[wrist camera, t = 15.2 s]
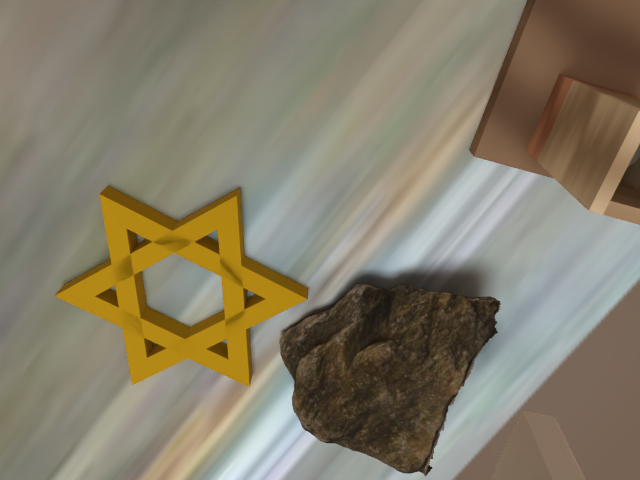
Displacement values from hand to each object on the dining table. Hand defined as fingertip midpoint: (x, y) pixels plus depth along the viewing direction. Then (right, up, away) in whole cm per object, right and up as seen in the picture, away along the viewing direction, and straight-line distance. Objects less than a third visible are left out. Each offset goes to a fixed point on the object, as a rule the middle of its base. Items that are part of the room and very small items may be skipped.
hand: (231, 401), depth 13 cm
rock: (+7, -5, +36) cm, 37 cm away
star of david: (-9, 0, +35) cm, 36 cm away
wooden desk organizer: (+21, +17, +25) cm, 37 cm away
